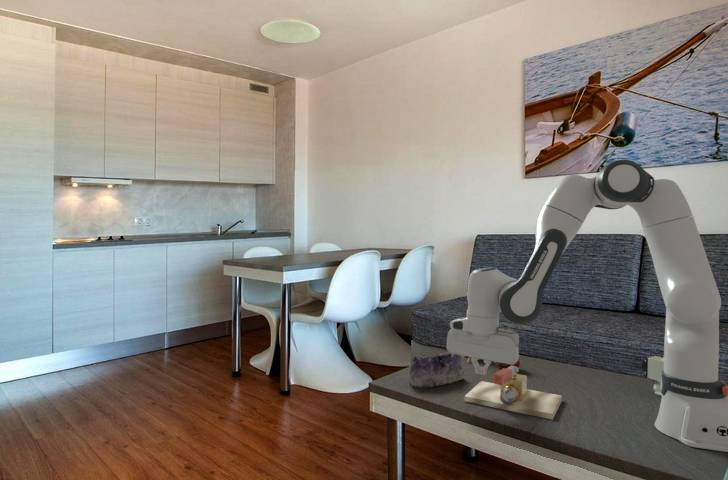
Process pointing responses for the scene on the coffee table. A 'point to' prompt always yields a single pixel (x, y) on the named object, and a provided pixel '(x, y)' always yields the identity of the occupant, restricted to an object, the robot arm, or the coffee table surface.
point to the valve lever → (505, 375)
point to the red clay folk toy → (503, 365)
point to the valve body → (514, 389)
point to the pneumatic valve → (654, 370)
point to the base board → (530, 405)
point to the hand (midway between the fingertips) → (480, 373)
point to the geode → (435, 371)
